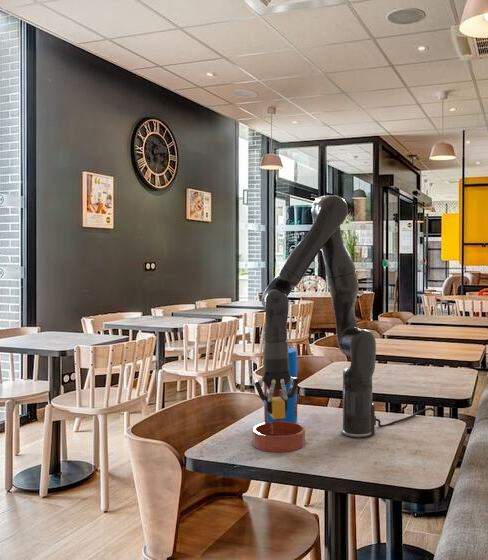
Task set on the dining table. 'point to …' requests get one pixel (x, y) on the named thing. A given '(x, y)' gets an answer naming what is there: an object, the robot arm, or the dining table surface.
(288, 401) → the thermos
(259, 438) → the bowl
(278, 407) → the sponge
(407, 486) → the dining table surface
